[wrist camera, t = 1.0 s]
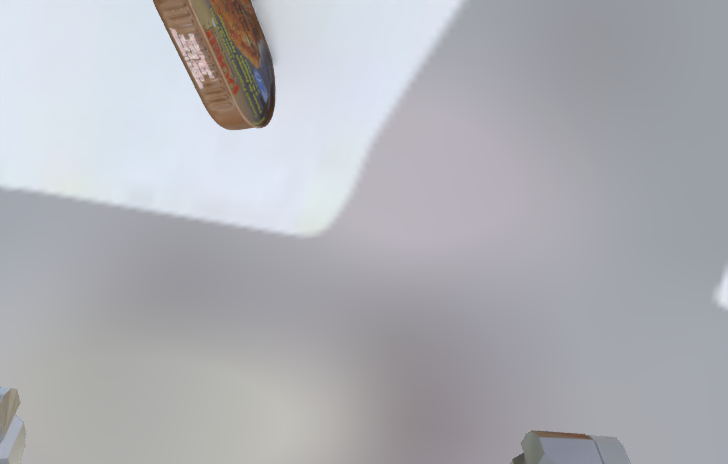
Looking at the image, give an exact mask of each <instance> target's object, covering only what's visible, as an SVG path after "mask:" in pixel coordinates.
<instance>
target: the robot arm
mask: <svg viewBox="0 0 728 464" xmlns="http://www.w3.org/2000/svg"><path fill="white" fill-rule="evenodd" d="M19 405H20V399H19V395H18V391H17V389H15V388H6V387H0V464H21V461H22V457H23V452H24V448H25V437H26V436H25V435H26V431H25V424H24V421H23V420H22V419H20V418H19V417H18V416H17V415H16V414H15V413H16V411H17V409H18V407H19ZM521 445H522V449H523V453H522V454H521V455H519V456H517V457H515V458H514V459H512V461H511V463H510V464H631V463H630V460H629V458H628V455H627V453H626V450H625V448H624V446H623V444H622V443H621V441H620V440H619V439H617V438H615V437H607V436H593V435H585V434H577V433H563V432H548V431H533V430H532V431H530V432H528V433H527V434H526V435H525V437H524V439H523V440H522V442H521Z"/></svg>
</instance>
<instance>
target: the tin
mask: <svg viewBox="0 0 728 464" xmlns="http://www.w3.org/2000/svg"><path fill="white" fill-rule="evenodd" d="M153 2H154V4H155V7H156V9H157V11H158V13H159V15H160V17H161V19H162V21H163V23H164V25H165V27H166V30H167V32H168V33H169V36H170V38H171V40H172V42H173V44H174V46H175V48H176V50H177V52H178V54H179V56H180V58H181V60H182V62H183V64H184V66H185V68H186V70H187V72H188V74H189V76H190V78H191V80H192V82H193V84H194V86H195V88H196V90H197V92H198V94H199V96H200V98H201V100H202V102H203V104H204V106H205V108H206V110H207V111H208V113H209V114H210V116H211V117H212V118H213V119H214V121H215V122H216V123H217V124H219V125H220V126H221V127H223V128H225V129H228V130H241V129H248V128H254V127H255V128H263V127H265V126H267V125H268V123H269V122H270V120H271V118H272V116H273V112H274V107H275V76H274V69H273V64H272V59H271V56H270V52H269V49H268V46H267V43H266V40H265V38H264V35H263V33H262V30H261V27H260V25H259V22H258V20H257V17H256V14H255V12H254V10H253V7H252V4H251V2H250V0H153Z"/></svg>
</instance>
